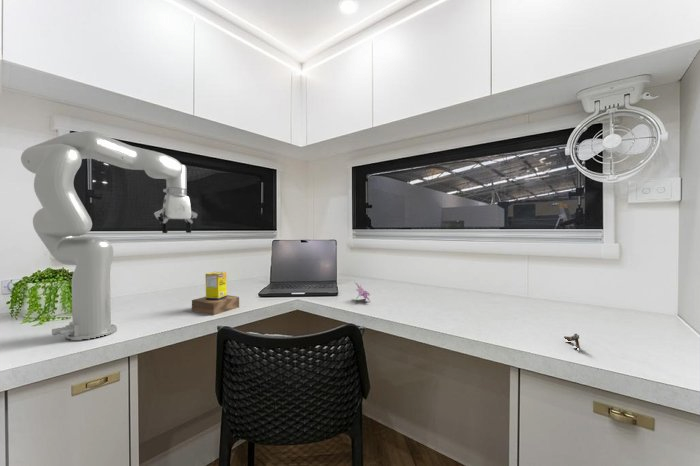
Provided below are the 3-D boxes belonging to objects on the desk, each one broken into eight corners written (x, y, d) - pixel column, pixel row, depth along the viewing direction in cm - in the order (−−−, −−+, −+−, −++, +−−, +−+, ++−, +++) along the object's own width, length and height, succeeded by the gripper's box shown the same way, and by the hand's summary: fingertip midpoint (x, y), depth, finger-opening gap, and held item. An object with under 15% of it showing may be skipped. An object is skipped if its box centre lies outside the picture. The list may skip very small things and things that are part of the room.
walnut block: (213, 316, 121) (213, 303, 121) (191, 312, 127) (191, 300, 127) (239, 308, 133) (239, 296, 133) (218, 304, 139) (218, 293, 138)
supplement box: (227, 297, 132) (226, 271, 132) (218, 300, 126) (218, 273, 126) (214, 296, 133) (214, 271, 133) (205, 299, 127) (205, 273, 127)
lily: (370, 307, 136) (377, 289, 139) (347, 297, 137) (355, 279, 139) (366, 308, 147) (373, 291, 150) (345, 299, 147) (352, 282, 150)
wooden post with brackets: (576, 350, 86) (573, 332, 88) (565, 351, 93) (563, 335, 95) (583, 351, 85) (581, 333, 87) (572, 352, 93) (570, 336, 94)
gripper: (158, 190, 122) (158, 233, 123) (201, 194, 136) (201, 232, 137) (150, 191, 127) (150, 233, 127) (192, 195, 141) (192, 232, 141)
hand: (177, 232), depth 132 cm, fingers open, 9 cm apart
